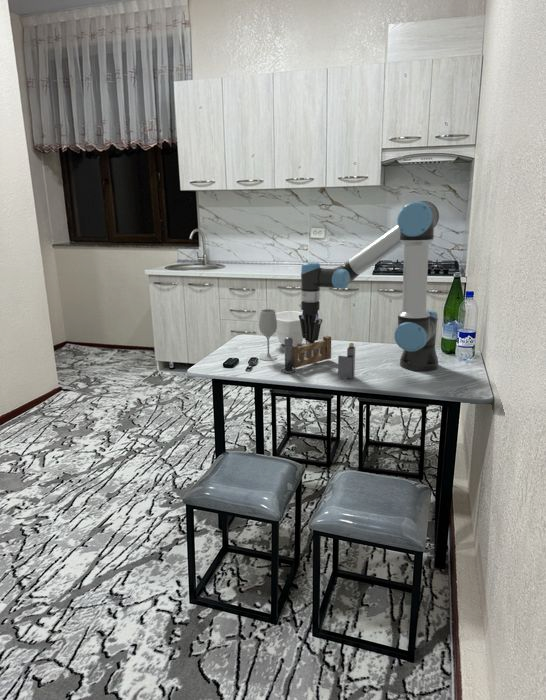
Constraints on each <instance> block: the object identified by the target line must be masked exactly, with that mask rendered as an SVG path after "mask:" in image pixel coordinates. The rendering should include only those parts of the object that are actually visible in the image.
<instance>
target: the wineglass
mask: <svg viewBox="0 0 546 700" xmlns="http://www.w3.org/2000/svg"><path fill="white" fill-rule="evenodd" d="M259 312H260V313H259V319H258V329H259V331H260V333H261V334H262V335H263V336H264V337H265V338H266V341H267V344H266V345H267V349H266V350H267V354H266V355H262V356H260V357H259V358H260V360H261V361H265V362H266V361H267V362H270V361H271V362H272V361H276V360H277V358H278V357H277V356H275V355H271V354H270V339H271V337H272V336H273V335H274V334H275V333H276V329H277V320H276V314H275V313H276V310H275V309H271V308H269V309H268V308H267V309H261V310H260V311H259Z"/></svg>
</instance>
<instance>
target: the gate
mask: <svg viewBox="0 0 546 700" xmlns="http://www.w3.org/2000/svg"><path fill="white" fill-rule="evenodd" d="M319 349H320V353H319ZM312 350H313V356H311V352H312ZM305 353H306V354H305ZM330 359H332V336H329V335H324V336H323V337H322V340H319V341H318V340H317V341H315V342H314V343H310V344H306V343H305V344H302V345H299V344H298V345H292V368H295V369H297V368H300V367H303V366H308V365H311V364H315V363H318V362H319V363H320V362H321V361H326V360H330Z"/></svg>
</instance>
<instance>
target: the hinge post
mask: <svg viewBox="0 0 546 700" xmlns="http://www.w3.org/2000/svg"><path fill="white" fill-rule="evenodd" d="M284 343H285V345H284V367H283V368H281V369H280V371H281V373H282V374H290V375H292V374H295V373H297V368H292V343H293V340H292V338H290V337H287V338H285V340H284Z"/></svg>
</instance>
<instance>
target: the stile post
mask: <svg viewBox="0 0 546 700" xmlns="http://www.w3.org/2000/svg"><path fill="white" fill-rule="evenodd" d="M354 344H355V343H353V342H349V345H348V347H347V350H346V351H347V353H346V355H339V356H338V359H337V377H338V378H346V379H347V380H354V379H355V374H356V373H355V371H356V370H355V368H356V346H355V345H354Z"/></svg>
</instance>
